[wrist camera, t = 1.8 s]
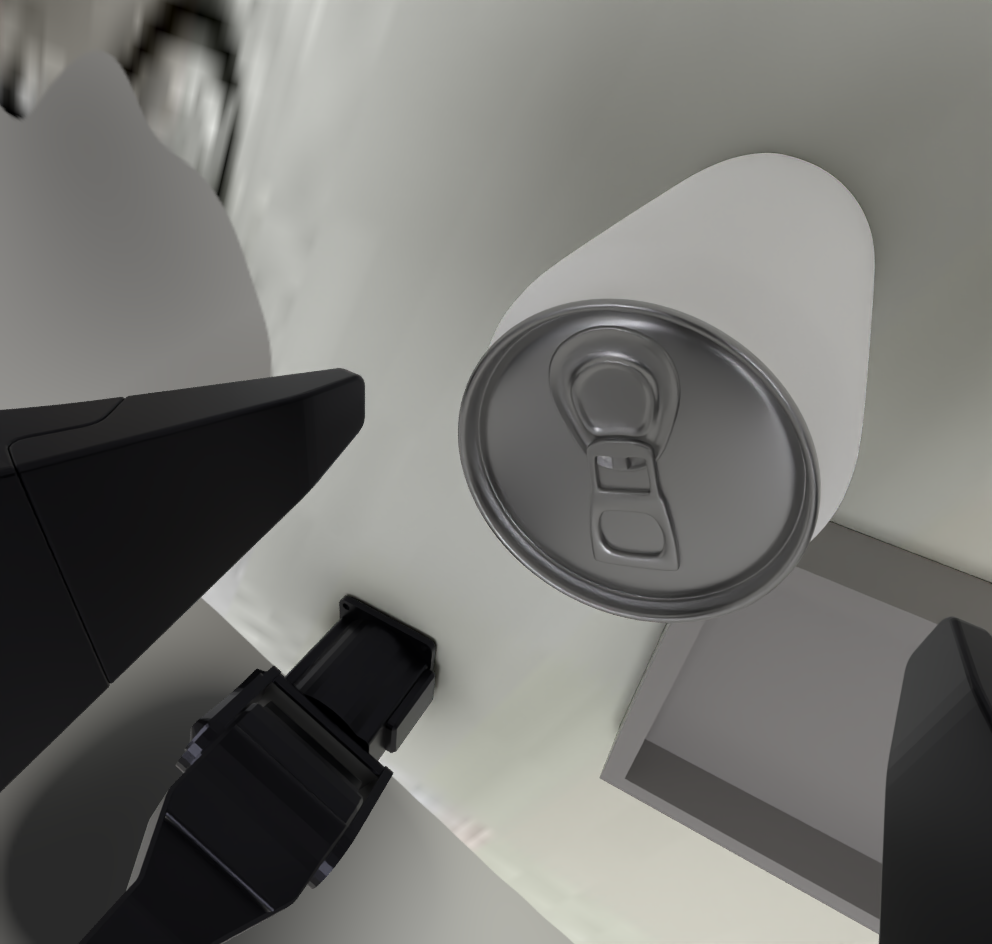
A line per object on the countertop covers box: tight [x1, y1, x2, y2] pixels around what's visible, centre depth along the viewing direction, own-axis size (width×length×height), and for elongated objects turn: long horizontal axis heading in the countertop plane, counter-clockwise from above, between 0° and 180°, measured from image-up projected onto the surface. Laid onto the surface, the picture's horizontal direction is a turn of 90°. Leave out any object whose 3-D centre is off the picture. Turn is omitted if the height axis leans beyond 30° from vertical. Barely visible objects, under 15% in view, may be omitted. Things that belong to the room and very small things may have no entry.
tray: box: [600, 521, 992, 934], centre depth 23 cm, size 16×16×3 cm
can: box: [458, 153, 875, 623], centre depth 14 cm, size 6×6×12 cm
